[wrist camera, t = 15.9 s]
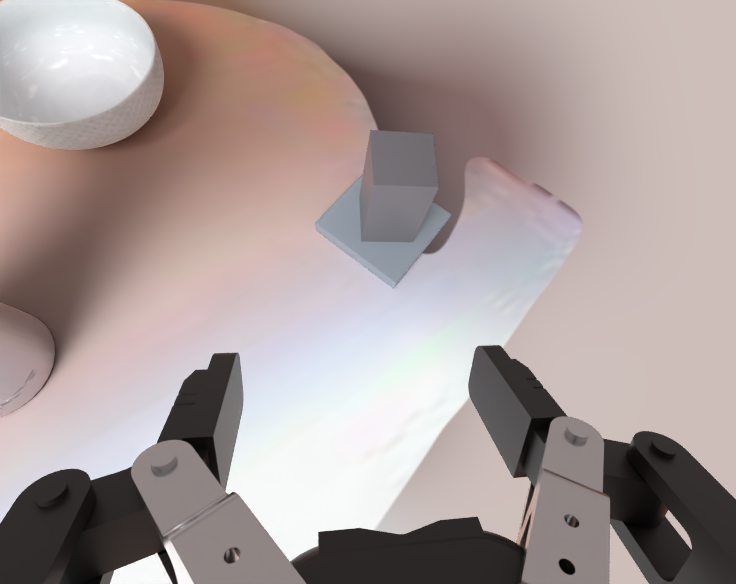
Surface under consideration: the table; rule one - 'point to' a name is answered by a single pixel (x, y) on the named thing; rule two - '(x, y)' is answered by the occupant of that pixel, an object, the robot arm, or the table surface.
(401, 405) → the table surface
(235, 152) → the table surface
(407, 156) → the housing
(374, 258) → the stub base
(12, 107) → the cereal bowl
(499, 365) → the robot arm
